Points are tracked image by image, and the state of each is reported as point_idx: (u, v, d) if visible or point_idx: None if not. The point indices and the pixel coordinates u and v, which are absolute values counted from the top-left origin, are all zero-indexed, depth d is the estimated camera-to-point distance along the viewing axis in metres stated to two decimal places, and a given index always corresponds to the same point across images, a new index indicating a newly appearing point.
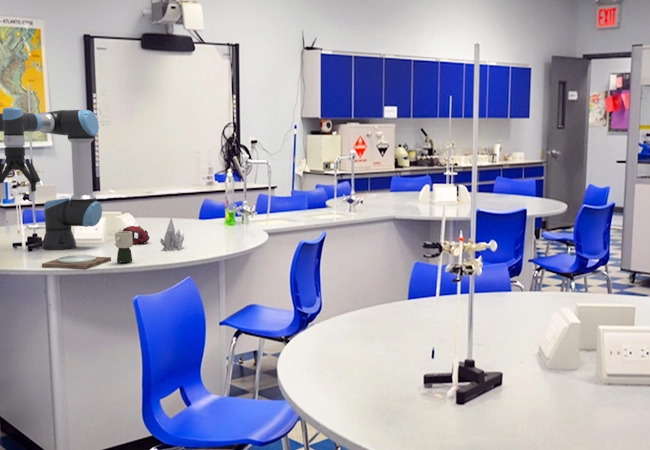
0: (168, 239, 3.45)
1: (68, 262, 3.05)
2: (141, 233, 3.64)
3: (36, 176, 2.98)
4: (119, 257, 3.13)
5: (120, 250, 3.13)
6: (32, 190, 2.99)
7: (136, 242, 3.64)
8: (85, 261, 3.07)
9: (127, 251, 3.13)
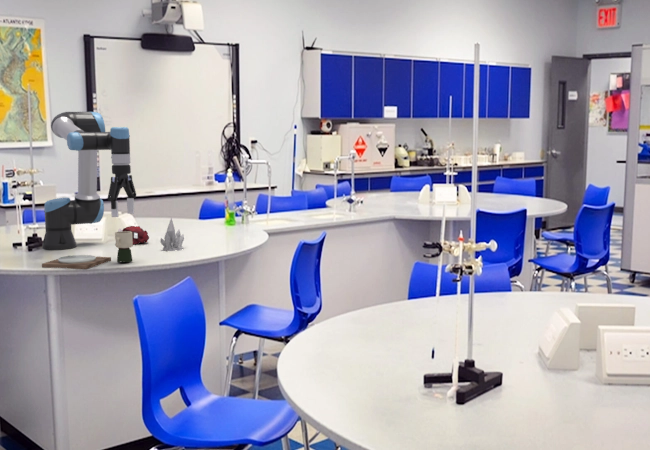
0: (168, 239, 3.45)
1: (68, 262, 3.05)
2: (141, 233, 3.63)
3: (110, 194, 3.03)
4: (119, 257, 3.13)
5: (120, 250, 3.13)
6: None
7: (136, 242, 3.64)
8: (85, 261, 3.07)
9: (127, 251, 3.13)
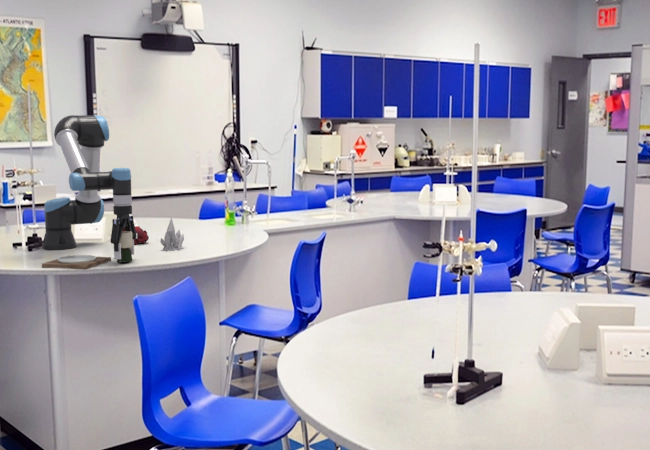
0: (168, 239, 3.45)
1: (68, 262, 3.05)
2: (140, 233, 3.63)
3: (113, 237, 3.06)
4: None
5: None
6: None
7: (135, 242, 3.64)
8: (85, 261, 3.07)
9: (127, 251, 3.13)
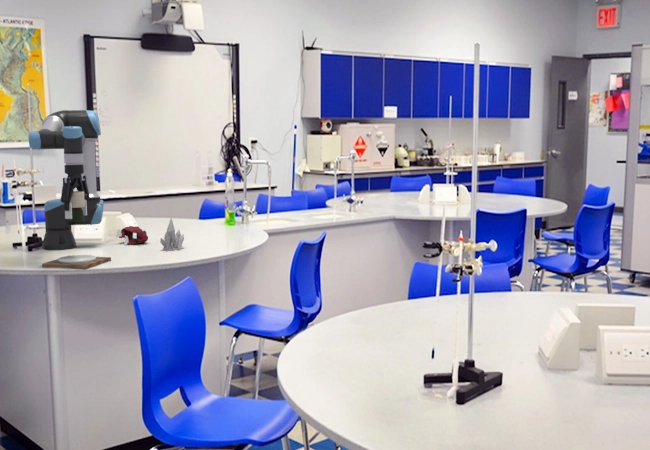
0: (168, 239, 3.45)
1: (68, 262, 3.05)
2: (140, 233, 3.63)
3: (63, 196, 3.01)
4: None
5: None
6: None
7: (135, 242, 3.63)
8: (85, 261, 3.07)
9: (79, 211, 3.08)
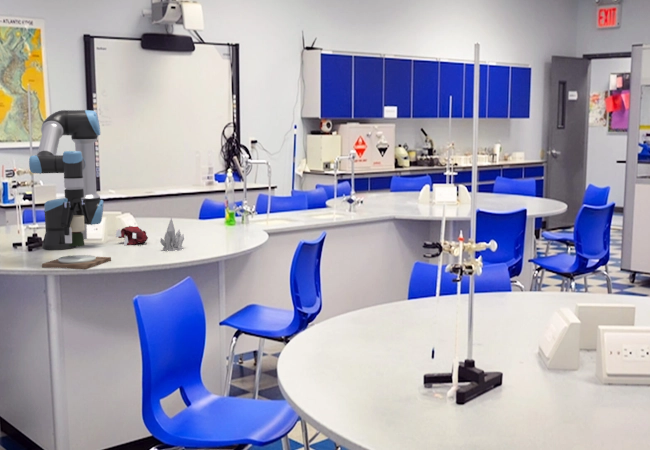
0: (168, 239, 3.45)
1: (68, 262, 3.05)
2: (139, 233, 3.63)
3: (63, 221, 3.02)
4: None
5: None
6: None
7: (134, 242, 3.63)
8: (85, 261, 3.07)
9: (79, 235, 3.09)
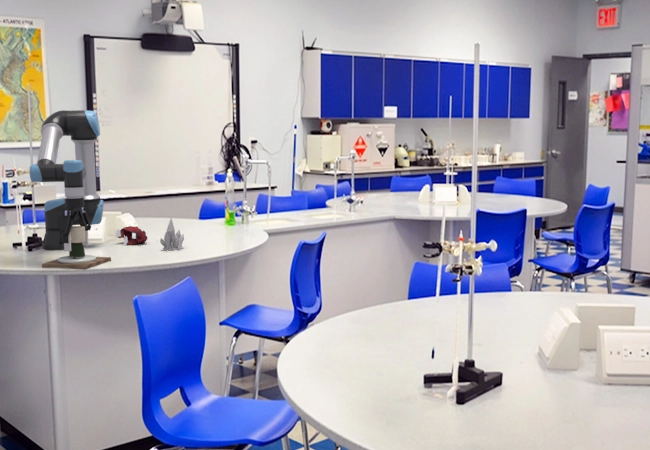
0: (168, 239, 3.45)
1: (68, 262, 3.05)
2: (139, 233, 3.63)
3: (62, 228, 3.02)
4: (71, 252, 3.10)
5: (72, 245, 3.10)
6: None
7: (134, 242, 3.63)
8: (85, 261, 3.07)
9: (79, 246, 3.10)
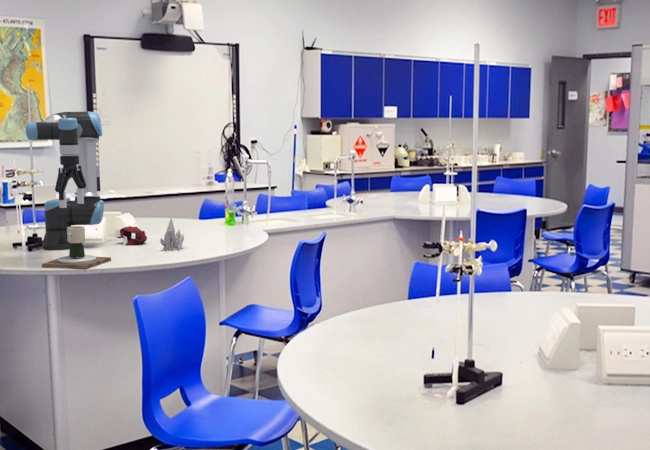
0: (168, 239, 3.45)
1: (68, 262, 3.05)
2: (139, 233, 3.62)
3: (58, 185, 3.04)
4: (71, 252, 3.10)
5: (72, 245, 3.10)
6: None
7: (134, 242, 3.63)
8: (85, 261, 3.07)
9: (79, 246, 3.10)
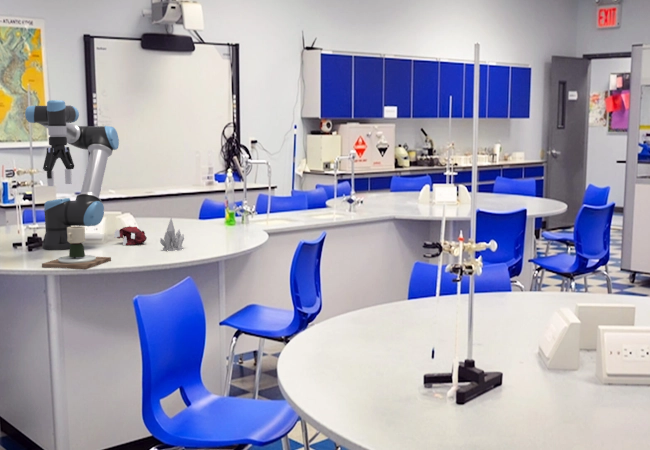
0: (168, 239, 3.45)
1: (68, 262, 3.05)
2: (138, 233, 3.62)
3: (46, 164, 3.17)
4: (71, 252, 3.10)
5: (72, 245, 3.10)
6: None
7: (133, 243, 3.62)
8: (85, 261, 3.07)
9: (79, 246, 3.10)
